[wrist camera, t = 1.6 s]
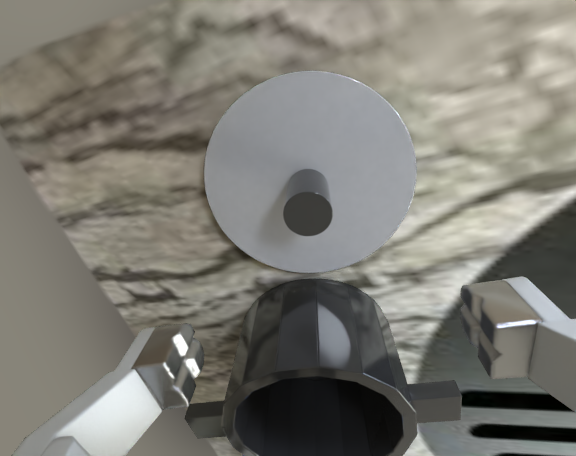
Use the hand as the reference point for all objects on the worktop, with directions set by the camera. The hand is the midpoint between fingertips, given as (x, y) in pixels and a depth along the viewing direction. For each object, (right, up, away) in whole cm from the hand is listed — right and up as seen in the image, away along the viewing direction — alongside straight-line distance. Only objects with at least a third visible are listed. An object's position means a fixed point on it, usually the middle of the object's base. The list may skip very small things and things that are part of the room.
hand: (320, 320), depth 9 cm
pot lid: (0, +5, +9) cm, 10 cm away
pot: (+1, -6, +16) cm, 17 cm away
